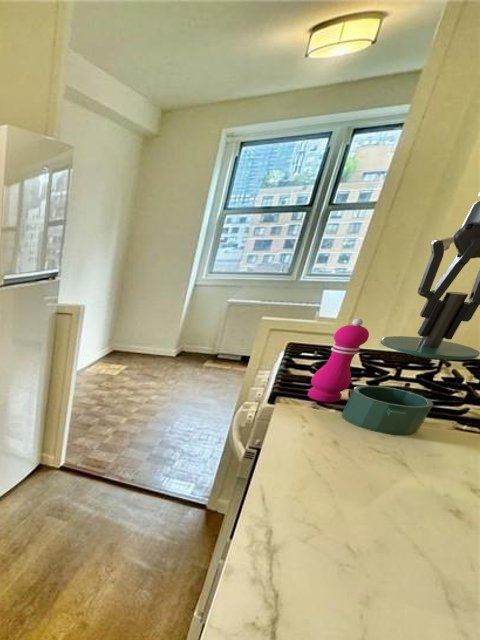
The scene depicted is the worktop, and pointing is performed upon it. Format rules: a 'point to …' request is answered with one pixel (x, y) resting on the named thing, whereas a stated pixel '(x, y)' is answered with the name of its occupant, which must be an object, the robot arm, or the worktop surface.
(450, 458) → the worktop surface
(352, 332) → the pepper mill
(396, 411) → the pot
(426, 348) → the teal disc with rod
